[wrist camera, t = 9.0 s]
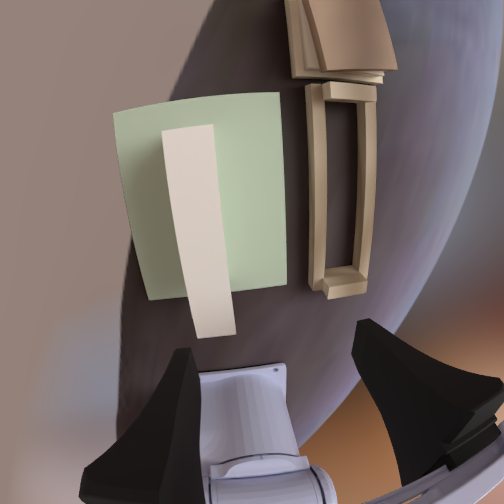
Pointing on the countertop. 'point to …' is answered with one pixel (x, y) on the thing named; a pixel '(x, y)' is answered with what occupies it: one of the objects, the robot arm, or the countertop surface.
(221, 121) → the sage mat
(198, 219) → the cream rectangular block
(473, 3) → the countertop surface
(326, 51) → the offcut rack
